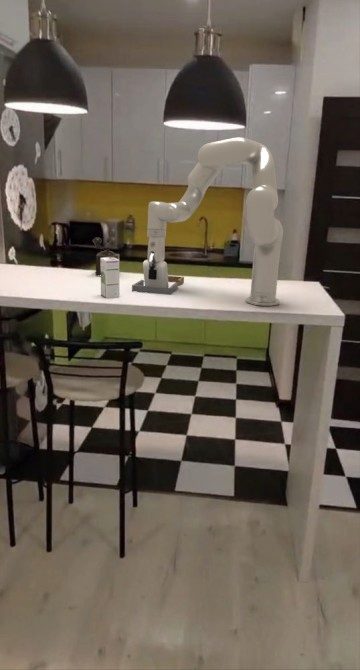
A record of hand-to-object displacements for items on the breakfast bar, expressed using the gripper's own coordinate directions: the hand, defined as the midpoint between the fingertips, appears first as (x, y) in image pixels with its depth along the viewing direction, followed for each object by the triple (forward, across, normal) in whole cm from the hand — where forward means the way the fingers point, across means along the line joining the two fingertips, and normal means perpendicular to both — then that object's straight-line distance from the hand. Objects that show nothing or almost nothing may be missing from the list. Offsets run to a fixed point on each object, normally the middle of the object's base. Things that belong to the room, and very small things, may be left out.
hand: (154, 277), depth 208 cm
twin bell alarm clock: (+6, +23, +29) cm, 38 cm away
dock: (+5, +15, -1) cm, 16 cm away
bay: (+5, -1, -1) cm, 5 cm away
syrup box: (+5, -20, +12) cm, 24 cm away
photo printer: (+4, +2, -1) cm, 5 cm away
